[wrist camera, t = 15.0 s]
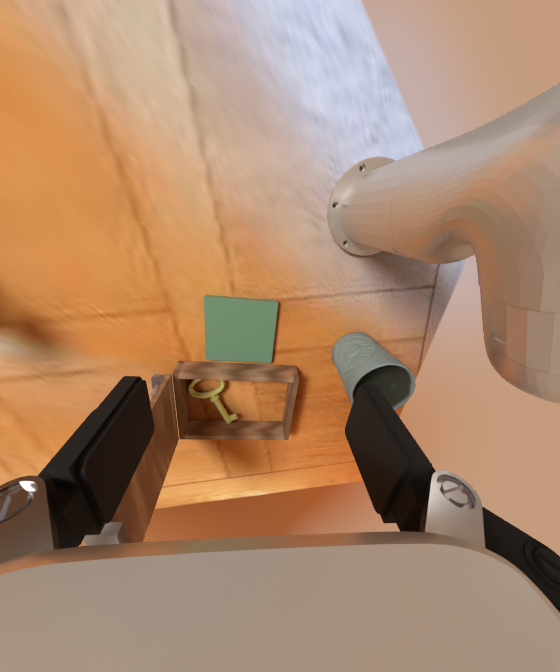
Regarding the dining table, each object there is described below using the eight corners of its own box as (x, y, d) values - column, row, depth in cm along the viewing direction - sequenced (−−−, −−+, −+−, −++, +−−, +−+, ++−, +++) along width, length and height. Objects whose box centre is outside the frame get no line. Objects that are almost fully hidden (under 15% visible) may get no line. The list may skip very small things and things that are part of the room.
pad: (277, 300, 40) (278, 302, 39) (271, 360, 45) (271, 362, 45) (205, 295, 38) (204, 296, 38) (207, 357, 44) (206, 359, 43)
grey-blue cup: (333, 326, 43) (358, 363, 33) (385, 328, 44) (426, 364, 34) (324, 372, 48) (344, 417, 37) (372, 373, 49) (404, 416, 38)
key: (229, 418, 51) (228, 426, 49) (184, 385, 46) (181, 392, 44) (254, 400, 49) (254, 408, 47) (210, 364, 44) (208, 370, 42)
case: (296, 366, 46) (332, 505, 24) (286, 424, 53) (307, 575, 31) (162, 360, 43) (60, 514, 21) (170, 423, 50) (101, 589, 28)
